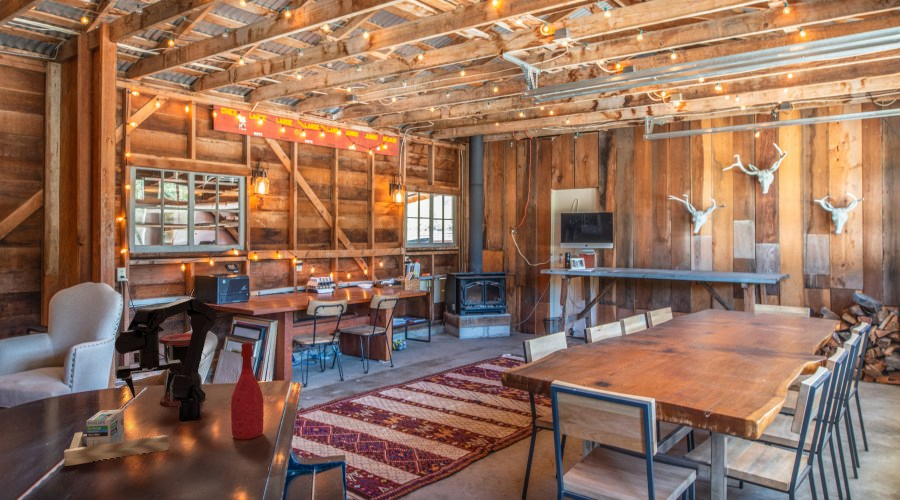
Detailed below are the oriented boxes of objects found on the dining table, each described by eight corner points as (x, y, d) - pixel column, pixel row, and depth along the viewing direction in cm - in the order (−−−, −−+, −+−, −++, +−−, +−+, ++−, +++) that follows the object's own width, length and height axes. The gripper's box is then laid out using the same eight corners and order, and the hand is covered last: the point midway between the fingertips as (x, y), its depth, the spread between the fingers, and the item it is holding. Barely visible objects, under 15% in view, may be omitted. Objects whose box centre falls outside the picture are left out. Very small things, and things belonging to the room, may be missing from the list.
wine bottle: (270, 432, 188) (269, 341, 187) (248, 442, 179) (247, 346, 178) (247, 428, 192) (246, 338, 192) (224, 438, 183) (223, 343, 183)
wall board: (166, 432, 188) (166, 420, 188) (168, 449, 173) (168, 436, 173) (71, 446, 176) (71, 433, 176) (64, 466, 161) (64, 451, 161)
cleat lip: (107, 440, 181) (107, 431, 181) (107, 442, 180) (107, 432, 180) (83, 444, 178) (82, 434, 178) (82, 445, 177) (82, 436, 177)
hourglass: (176, 394, 234) (175, 332, 234) (213, 395, 232) (213, 333, 231) (150, 405, 218) (149, 339, 218) (190, 407, 216) (189, 340, 215)
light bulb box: (111, 456, 169) (110, 419, 168) (85, 457, 167) (85, 420, 167) (125, 443, 179) (124, 408, 179) (101, 444, 178) (100, 409, 178)
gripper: (178, 339, 198) (180, 385, 198) (115, 346, 188) (117, 393, 189) (181, 345, 188) (183, 393, 189) (115, 352, 179) (117, 402, 179)
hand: (150, 395), depth 187 cm, fingers open, 9 cm apart
